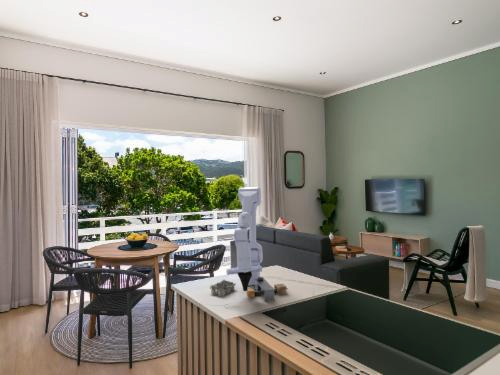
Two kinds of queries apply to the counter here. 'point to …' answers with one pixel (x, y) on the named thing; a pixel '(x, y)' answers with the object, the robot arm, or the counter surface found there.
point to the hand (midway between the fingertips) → (245, 290)
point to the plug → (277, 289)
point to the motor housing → (264, 289)
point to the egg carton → (222, 287)
